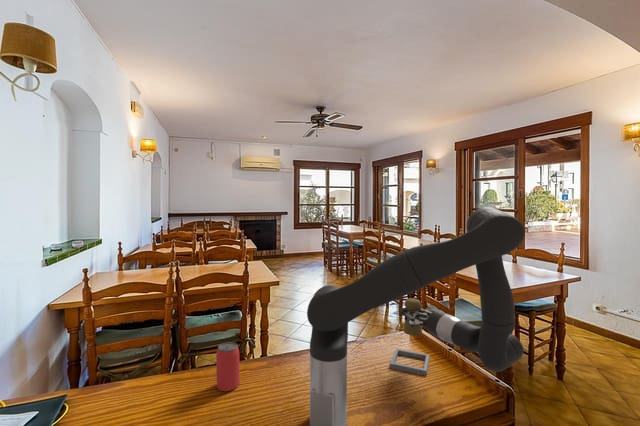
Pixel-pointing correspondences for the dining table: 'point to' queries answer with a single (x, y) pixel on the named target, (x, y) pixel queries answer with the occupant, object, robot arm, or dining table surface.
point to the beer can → (227, 366)
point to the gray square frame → (406, 367)
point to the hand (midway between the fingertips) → (406, 310)
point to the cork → (412, 306)
